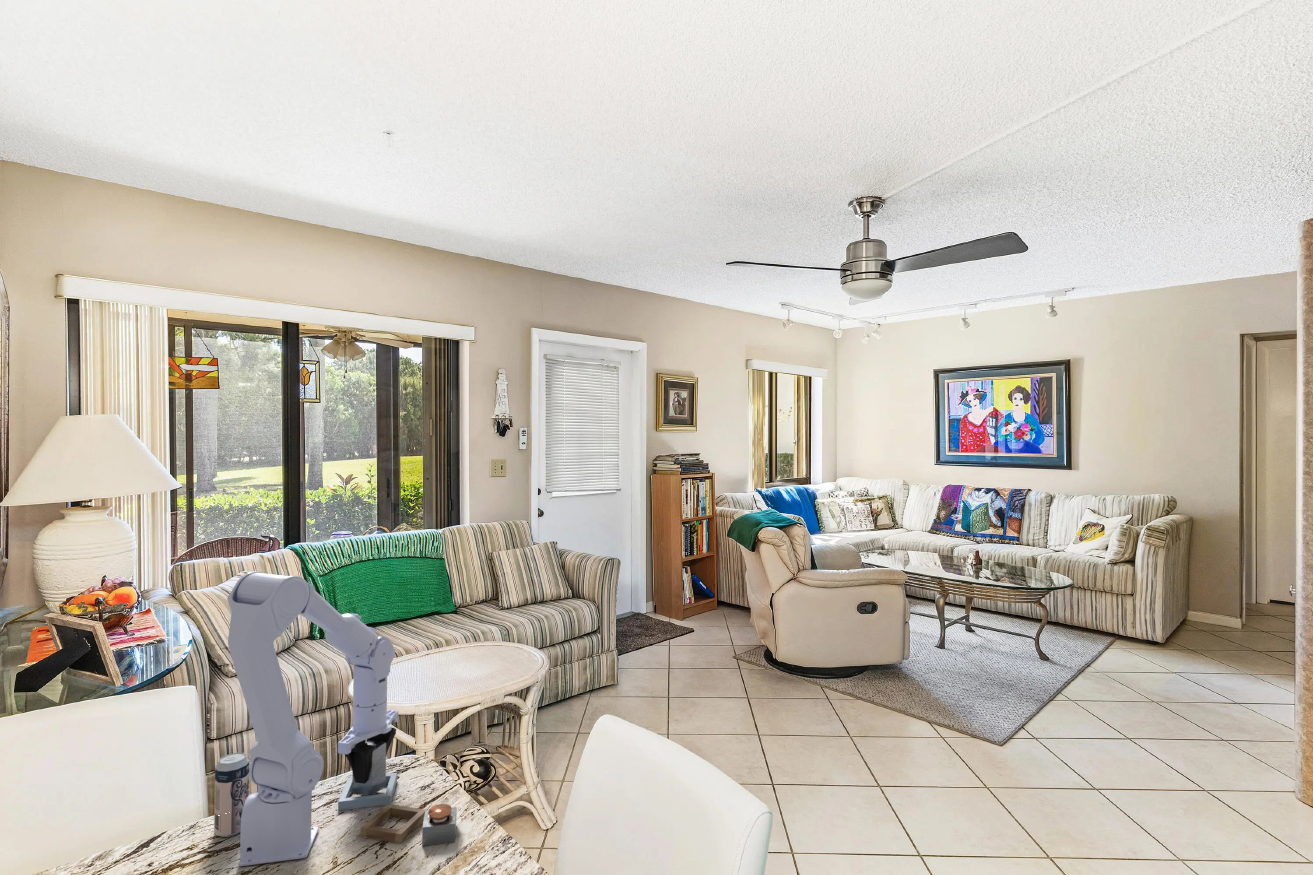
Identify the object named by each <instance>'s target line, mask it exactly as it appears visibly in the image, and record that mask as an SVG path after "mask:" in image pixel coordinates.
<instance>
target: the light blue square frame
mask: <svg viewBox="0 0 1313 875" xmlns="http://www.w3.org/2000/svg"><path fill="white" fill-rule="evenodd" d="M352 779H353V776H352V777H351V776H350V777H348V778H347V780H346V783H345V785H344V787H343V790H342V792H341V794H340V796H339V798H338V801H337V811H345V810H352V809H361V808H369V807H372V808H373V807H381V806H387V805H388V804H391V803H392V800H393V797H394V793H395V788H396V786H397V782H398V772H390V773H386V785H387V787H386V790H385V793H380V794H374V795H369V796H365V795H360V796H353V797H350V796H351V794H352Z"/></svg>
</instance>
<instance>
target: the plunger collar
mask: <svg viewBox="0 0 1313 875" xmlns="http://www.w3.org/2000/svg"><path fill="white" fill-rule="evenodd" d="M426 810H427V811H425V816H424V821H423V823H422V830H421V836H422V837H421V846H422V847H427V846H435V845H442V844H444V845H445V844H449V843H450V844H451V843H455V842H456V835H457V834H456V832H457V806H456V807H455V806H453V807H451V814H450V815H449V816H448V821H444V822H436V823H432V819H431V818H429V816H428V812H429V809H426Z"/></svg>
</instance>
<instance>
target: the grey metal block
mask: <svg viewBox="0 0 1313 875" xmlns="http://www.w3.org/2000/svg"><path fill="white" fill-rule="evenodd" d="M366 743H367V745H373V746H376V747H375V749H374V751H373V754H372V757H371V761H370V767H369V775H368V780H367V782H366V783H365V784H363V783H356V782H355V779H354V775H353V774H352V777H353V779H352V791H351V794H353V795H360V796H369V795H376V794H377V793H378V792H379V791H381V790H382V789H383V788H384V787H385V786H386V785H387V784H386V774H387V770H386V768H387V756H386V742H382V741H374V740H366Z"/></svg>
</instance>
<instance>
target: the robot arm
mask: <svg viewBox="0 0 1313 875" xmlns="http://www.w3.org/2000/svg"><path fill="white" fill-rule="evenodd" d="M226 599H227V603H228V605H229V609H230V612H231V613H230V614H231V616H230V623H229V629H228V638H227V646H228V650H229V654H230V656H231V659H232V660H231V661H232V663H233V667H234V670H235V672H236V676H237V679H238V682H239V686H240V689H241V692H242V695H243V698H244V702H245V705H246V709H247V712H248V715H249V718H250V721H251V724H252V727H253V731H254V734H255V738H256V741H255V742H254V743H253V744H252V746H251V747H250V749H249V750H248V754H249V760H250V762H249V780H250V781H251V782H252V783H253V784H254V785H257V792H254V793H249V796H248V797H247V799H246V801H245V803H244V807H243V811H242V816H241V832H240V838H239V839H240V841H239V843H240V845H239V846H240V847H239V848H240V849H239V852H240V853H239V860H238V863H237V864H238V866H239V867H245V866H252V865H253V866H254V865H261V864H268V863H276V862H283V861H293V860H299V859H305V858H307V857H308V855H309V853H310V850H311V848H312V846H313V844H314V842H315V840H316V837H317V835H318V832H319V829H320V828H319V827H318V826H314V827H312V811H313V810H312V805H313V803H312V800H313V799H312V798H313V797H312V796H313V791H314V790H315V789H316V787H317V785H318V784H319V781H320V779H321V777H322V775H323V771H324V759H323V757H322V755H321V754H320V753H319V752H317V751H316V750H315V748H314V744H313V742H312V741H311V739H309V737H307V735H305V734H304V733H303V732H302V731H300V730H299V729H298V726H297V721H296V719H295V716H294V715H295V714H294V712H293V707H292V705H291V701H290V697H289V694H288V691H287V687H286V684H285V680H284V676H283V674H282V673H283V672H282V670H281V667H280V662H279V659H278V656H277V653H276V648H275V644H274V642H275V640H276V639H277V638H279V637H281V636H283V634H284V633H285V631H286V630H287V629H288V628H289V626H291V625H292V623H293V622H294V621H295V620H296V619H297V617H298V616H299V615H300V616H302V617H304V618H305V619H306V620H308V621H310V622H311V623H313V624H314V625H316V626H317V627H319V628H320V629H322V630H323V631H325V633H324V634H325V640H326V642H327V643H329V644H330V645H331V646H333V647H334V648H335V649H336V650H338V651H340V652H341V653H342V654H343V655H344V656H345V660H346V663H347V665H351V666H353V680H352V682H353V687H352V695H353V696H352V726H351V727H350V729H349V730H348V732H347V733H346V734H345V736H344V737H343V738H342V739H341V740H339V741H338V742H337V753H338V754H339V755H340V754H341V755H344V756H345V757H346V759H347V761H348V763H349V765H350V768H351V772H352V776H353V775H354V779H355V782H356V783H363V784H365V783H366V782H367V780H368V775H369V767H370V761H371V757H372V754H373V751H374V749H375V747H376V746H373V745H367V743H366V740H374V741H382V742H386V757H387V755H388V752H389V750H390V746H391V744H392V742H393V739H395V738H394V737H395V736H396V734H397V729H396V728H395V727H392V725H391V724H394V723H398V721H399V710H396V709H395V710H394V709H388V677H389V675H390V673H391V664H392V662H393V660H394V658H395V655H396V648H394V644H393V642H391V640H390V639H389V638H388V637H386V636H379V635H378V634H377V633H376V629H375V628H374V627H372V626H371V627H370V626H367V624H365V623H364V622H362V621H361V619H362V616H361V615H360V614H358V613H349V612H346V613H342V614H341V613H340V612H339V611H338V610H337V609H336V608H335V607H334V606H332V605H331V603H329V602H328V601H327V600H326V599H325V598H324V597H322V596H321V594H320V593H318V592H317V591H316V590H315V585H313V584H311V583H309V582H307V580H305V579H304V578H303V577H301V576H299V575H284V574H283V575H281V574H273V573H267V572H266V573H265V572H262V571H254V570H253V571H250V572H247V573H245V574H244V575H242V576H241V577H240V578H239V579H238V580H237V582H236V583H235V585H234V587H232V590H230V593H229V595H228V596H227V598H226Z"/></svg>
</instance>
